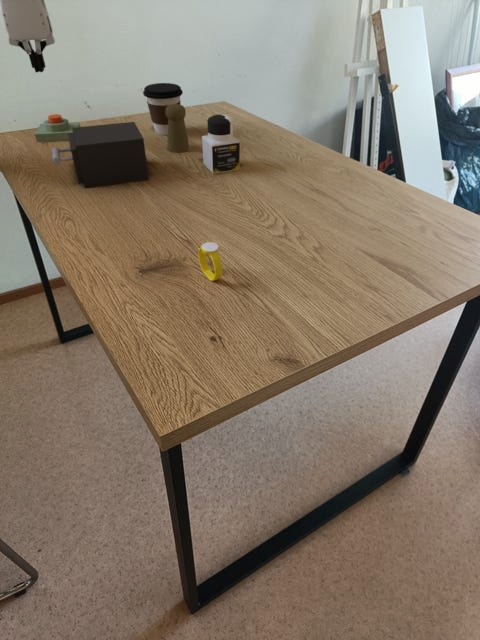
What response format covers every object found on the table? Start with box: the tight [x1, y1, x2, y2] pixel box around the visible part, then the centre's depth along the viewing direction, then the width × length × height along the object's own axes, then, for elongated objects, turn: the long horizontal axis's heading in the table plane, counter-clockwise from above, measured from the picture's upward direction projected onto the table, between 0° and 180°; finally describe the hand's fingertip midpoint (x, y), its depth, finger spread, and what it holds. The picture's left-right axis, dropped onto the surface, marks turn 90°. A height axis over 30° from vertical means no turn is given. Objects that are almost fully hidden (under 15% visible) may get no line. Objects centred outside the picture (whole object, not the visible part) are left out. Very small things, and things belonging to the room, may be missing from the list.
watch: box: [197, 241, 223, 282], centre depth 75 cm, size 6×3×6 cm, turn 32°
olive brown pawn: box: [165, 103, 190, 153], centre depth 119 cm, size 6×6×11 cm
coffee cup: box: [142, 82, 184, 136], centre depth 129 cm, size 11×11×12 cm
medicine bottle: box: [201, 114, 241, 175], centre depth 109 cm, size 7×7×12 cm
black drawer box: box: [72, 121, 150, 189], centre depth 106 cm, size 15×13×10 cm
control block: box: [34, 117, 81, 143], centre depth 128 cm, size 11×9×4 cm
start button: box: [47, 113, 63, 124], centre depth 127 cm, size 4×4×2 cm
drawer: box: [51, 133, 84, 185], centre depth 105 cm, size 18×11×8 cm, turn 109°
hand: (40, 70), depth 116 cm, fingers closed
